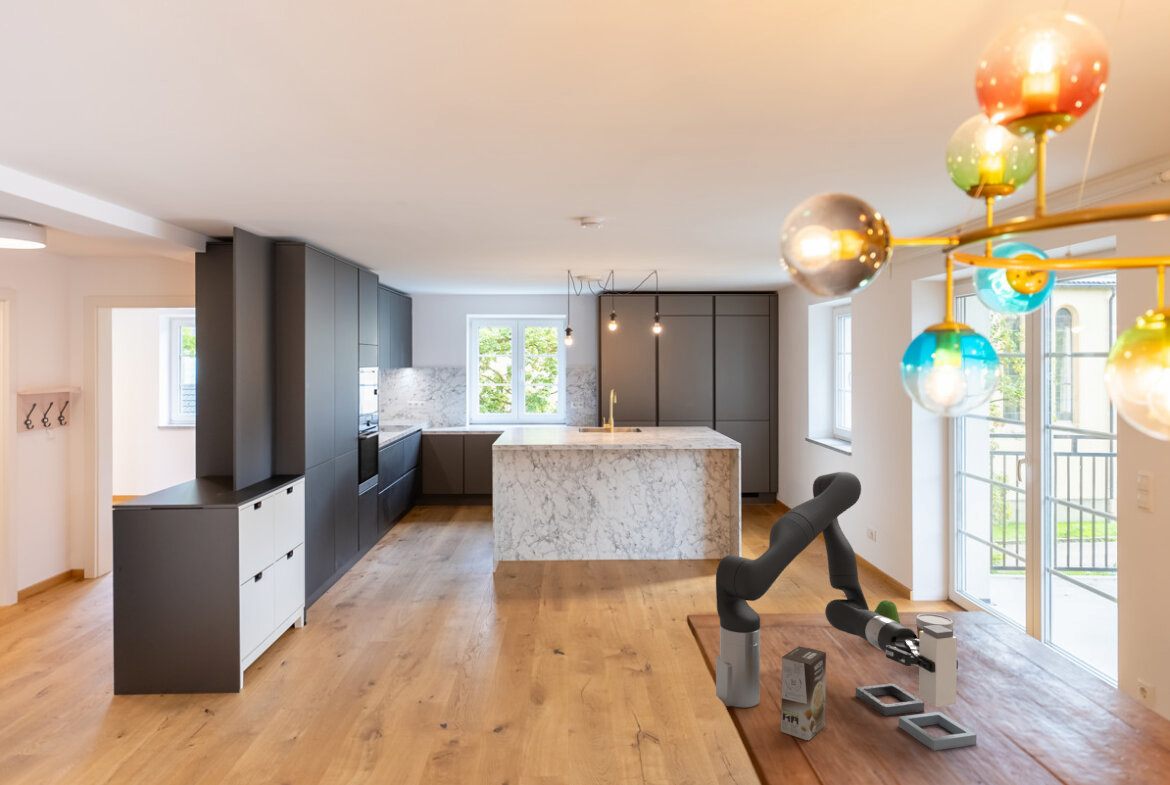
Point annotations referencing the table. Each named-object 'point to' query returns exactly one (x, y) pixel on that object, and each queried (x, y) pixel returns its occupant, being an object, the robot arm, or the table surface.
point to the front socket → (942, 742)
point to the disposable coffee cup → (933, 621)
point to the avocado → (888, 610)
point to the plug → (938, 665)
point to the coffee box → (803, 692)
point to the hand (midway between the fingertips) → (945, 666)
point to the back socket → (907, 706)
